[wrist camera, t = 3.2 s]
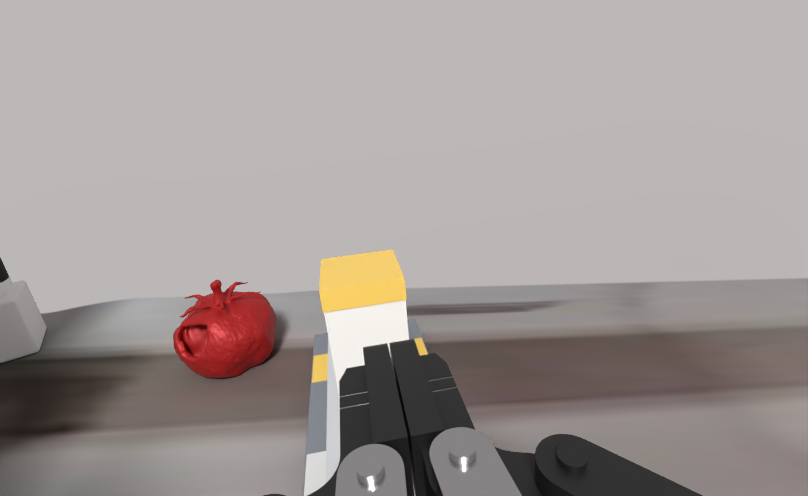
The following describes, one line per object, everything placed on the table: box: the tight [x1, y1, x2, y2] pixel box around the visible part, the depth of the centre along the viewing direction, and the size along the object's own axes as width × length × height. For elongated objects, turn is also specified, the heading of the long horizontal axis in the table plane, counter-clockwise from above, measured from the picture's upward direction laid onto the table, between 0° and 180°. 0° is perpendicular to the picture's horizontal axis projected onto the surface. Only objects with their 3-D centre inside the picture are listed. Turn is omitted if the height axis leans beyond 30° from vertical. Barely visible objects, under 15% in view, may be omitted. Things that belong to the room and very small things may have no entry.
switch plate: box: [303, 319, 428, 496], centre depth 33 cm, size 24×11×3 cm, turn 9°
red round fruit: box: [173, 280, 276, 378], centre depth 42 cm, size 10×10×9 cm
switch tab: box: [319, 249, 416, 496], centre depth 24 cm, size 4×5×15 cm
